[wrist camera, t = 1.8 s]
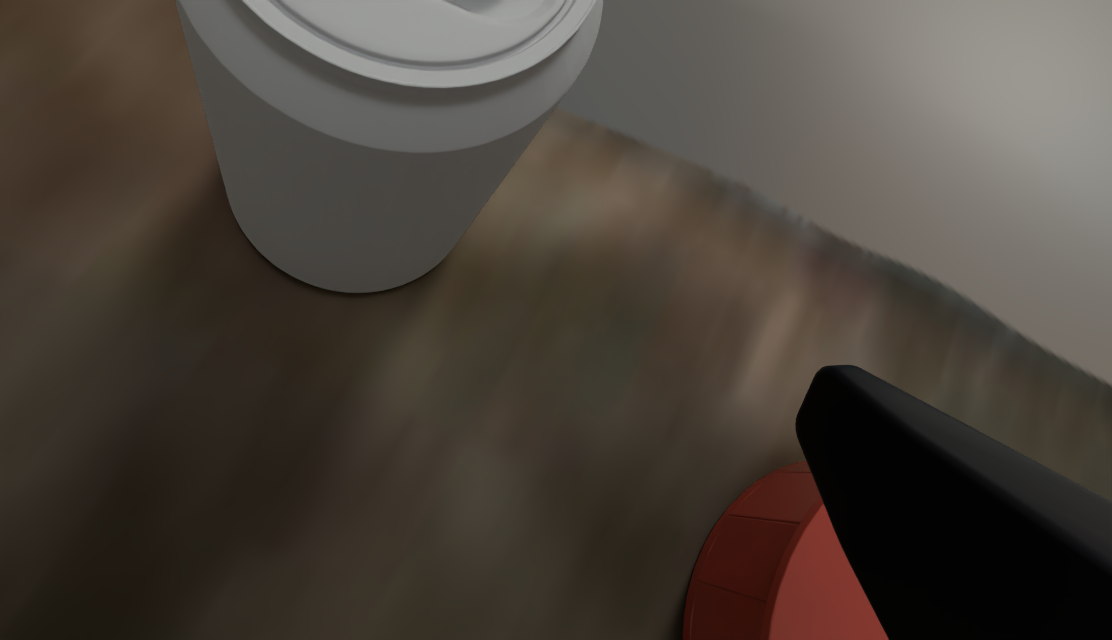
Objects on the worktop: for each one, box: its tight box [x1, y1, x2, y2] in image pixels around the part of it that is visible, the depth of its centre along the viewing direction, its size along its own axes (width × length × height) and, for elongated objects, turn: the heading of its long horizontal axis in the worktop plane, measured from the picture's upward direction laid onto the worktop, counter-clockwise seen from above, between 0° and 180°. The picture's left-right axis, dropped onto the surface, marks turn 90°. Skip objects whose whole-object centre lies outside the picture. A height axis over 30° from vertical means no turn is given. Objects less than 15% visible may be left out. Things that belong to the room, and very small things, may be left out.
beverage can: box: [175, 0, 603, 293], centre depth 16 cm, size 6×6×12 cm
